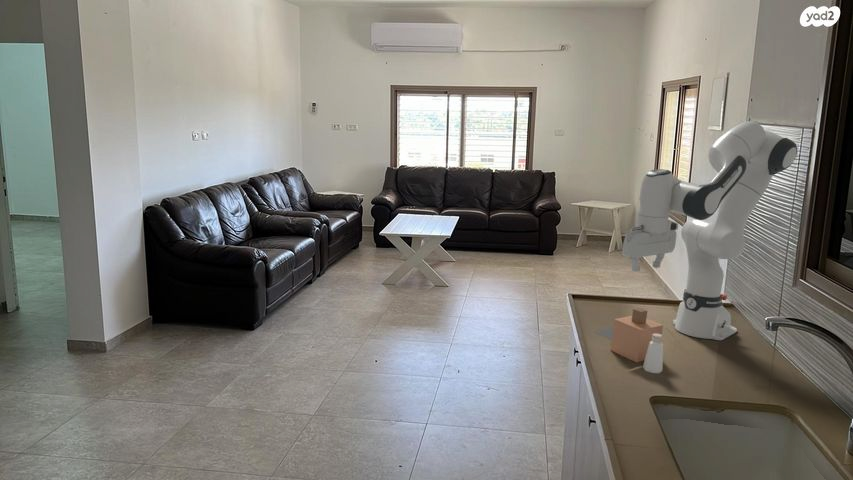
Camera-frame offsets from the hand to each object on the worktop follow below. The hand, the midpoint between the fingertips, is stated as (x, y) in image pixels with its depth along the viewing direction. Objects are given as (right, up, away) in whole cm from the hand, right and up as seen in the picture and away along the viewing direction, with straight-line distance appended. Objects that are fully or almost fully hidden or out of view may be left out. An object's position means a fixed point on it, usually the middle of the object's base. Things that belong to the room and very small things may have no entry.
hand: (646, 269), depth 191 cm
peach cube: (-2, -27, +6) cm, 28 cm away
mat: (-2, -24, +21) cm, 32 cm away
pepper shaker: (+1, -30, -4) cm, 30 cm away
